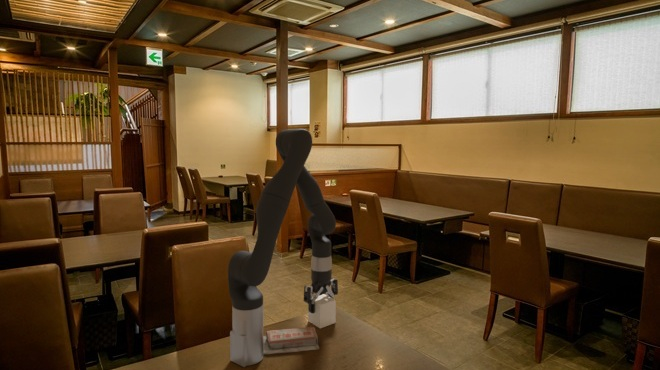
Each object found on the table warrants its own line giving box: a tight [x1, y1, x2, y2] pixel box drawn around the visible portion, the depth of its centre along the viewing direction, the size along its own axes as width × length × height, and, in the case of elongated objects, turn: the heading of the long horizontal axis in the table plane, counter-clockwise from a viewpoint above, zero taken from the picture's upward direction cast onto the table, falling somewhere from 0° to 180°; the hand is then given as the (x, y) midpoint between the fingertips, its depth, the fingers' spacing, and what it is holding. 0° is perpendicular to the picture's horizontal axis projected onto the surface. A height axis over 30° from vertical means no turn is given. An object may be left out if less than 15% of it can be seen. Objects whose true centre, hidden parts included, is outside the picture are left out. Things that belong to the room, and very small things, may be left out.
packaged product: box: [263, 326, 320, 355], centre depth 130 cm, size 18×5×10 cm
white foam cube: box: [307, 294, 337, 329], centre depth 145 cm, size 7×7×9 cm
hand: (321, 309), depth 145 cm, fingers open, 8 cm apart
